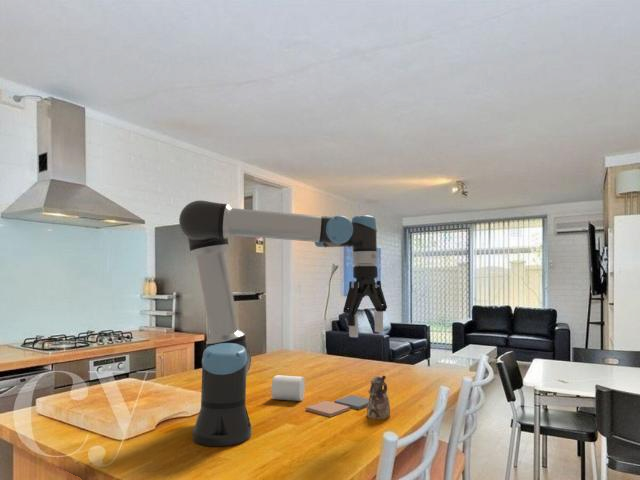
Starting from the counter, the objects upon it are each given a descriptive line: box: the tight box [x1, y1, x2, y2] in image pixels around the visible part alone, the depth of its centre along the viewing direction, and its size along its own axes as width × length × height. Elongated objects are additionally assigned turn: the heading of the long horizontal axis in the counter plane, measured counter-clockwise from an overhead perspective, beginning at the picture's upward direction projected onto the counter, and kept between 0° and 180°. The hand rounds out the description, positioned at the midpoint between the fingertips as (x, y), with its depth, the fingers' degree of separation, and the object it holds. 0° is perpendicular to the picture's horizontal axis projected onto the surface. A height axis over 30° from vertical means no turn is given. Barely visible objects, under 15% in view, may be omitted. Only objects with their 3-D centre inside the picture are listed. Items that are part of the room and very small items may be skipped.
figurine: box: [366, 375, 391, 420], centre depth 138 cm, size 7×7×12 cm
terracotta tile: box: [305, 400, 351, 418], centre depth 142 cm, size 10×10×1 cm
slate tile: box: [333, 394, 369, 411], centre depth 150 cm, size 10×10×1 cm
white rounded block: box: [270, 374, 306, 402], centre depth 156 cm, size 12×10×8 cm
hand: (366, 334), depth 137 cm, fingers open, 13 cm apart
